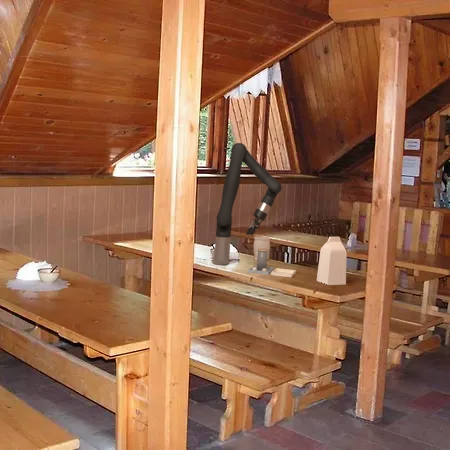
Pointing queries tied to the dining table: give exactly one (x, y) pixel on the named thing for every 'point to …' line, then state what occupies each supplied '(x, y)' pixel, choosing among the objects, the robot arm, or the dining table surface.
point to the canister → (261, 259)
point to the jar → (261, 244)
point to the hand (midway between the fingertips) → (249, 234)
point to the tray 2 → (283, 272)
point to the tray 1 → (261, 271)
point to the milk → (332, 263)
